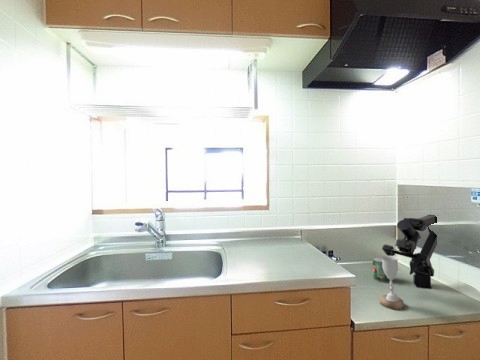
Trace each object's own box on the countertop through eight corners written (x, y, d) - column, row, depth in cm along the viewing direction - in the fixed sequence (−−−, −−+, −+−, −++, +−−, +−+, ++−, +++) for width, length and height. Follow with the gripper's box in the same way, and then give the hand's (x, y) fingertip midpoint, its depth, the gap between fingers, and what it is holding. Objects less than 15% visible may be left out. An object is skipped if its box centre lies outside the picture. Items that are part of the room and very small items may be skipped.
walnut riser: (400, 301, 119) (400, 296, 119) (405, 311, 111) (405, 306, 111) (378, 299, 122) (378, 293, 122) (381, 308, 114) (381, 303, 114)
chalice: (398, 304, 112) (395, 261, 112) (381, 299, 116) (378, 258, 117) (403, 298, 117) (400, 257, 117) (386, 294, 122) (383, 254, 122)
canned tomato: (392, 282, 139) (392, 261, 138) (377, 282, 139) (377, 261, 138) (384, 276, 147) (384, 256, 146) (370, 276, 147) (370, 257, 146)
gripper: (384, 228, 130) (372, 256, 125) (428, 237, 115) (417, 269, 110) (391, 239, 136) (380, 267, 130) (434, 250, 121) (424, 281, 116)
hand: (399, 270), depth 121 cm, fingers open, 9 cm apart
